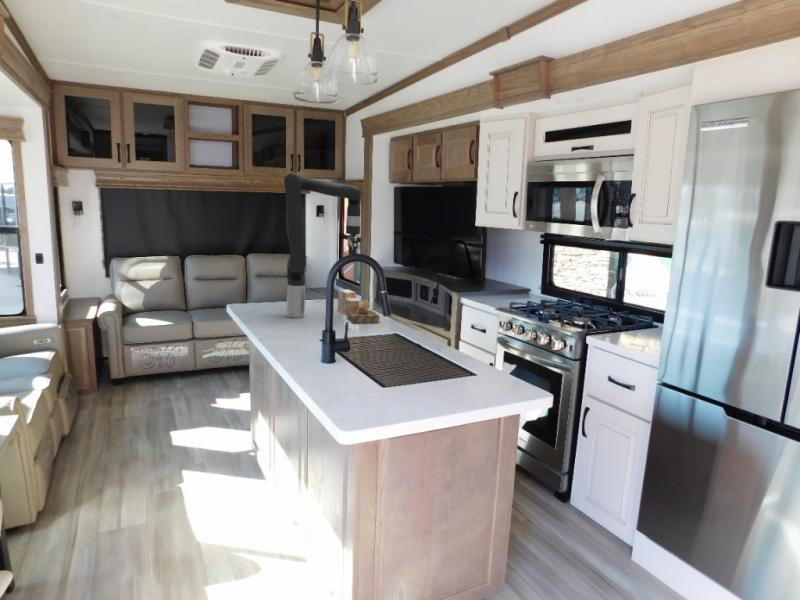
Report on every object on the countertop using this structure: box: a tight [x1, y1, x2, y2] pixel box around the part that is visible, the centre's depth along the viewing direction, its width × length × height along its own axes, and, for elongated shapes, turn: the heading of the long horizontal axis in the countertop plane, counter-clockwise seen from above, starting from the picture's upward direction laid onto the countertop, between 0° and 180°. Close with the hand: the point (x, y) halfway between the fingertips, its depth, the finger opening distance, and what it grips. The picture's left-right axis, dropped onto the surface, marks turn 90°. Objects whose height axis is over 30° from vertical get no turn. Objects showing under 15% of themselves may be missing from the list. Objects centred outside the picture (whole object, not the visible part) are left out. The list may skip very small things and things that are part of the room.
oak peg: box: [359, 299, 370, 314], centre depth 291 cm, size 5×5×10 cm
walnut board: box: [346, 310, 380, 325], centre depth 292 cm, size 14×14×4 cm
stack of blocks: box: [337, 289, 362, 316], centre depth 309 cm, size 21×6×12 cm, turn 25°
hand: (352, 255), depth 289 cm, fingers open, 8 cm apart
